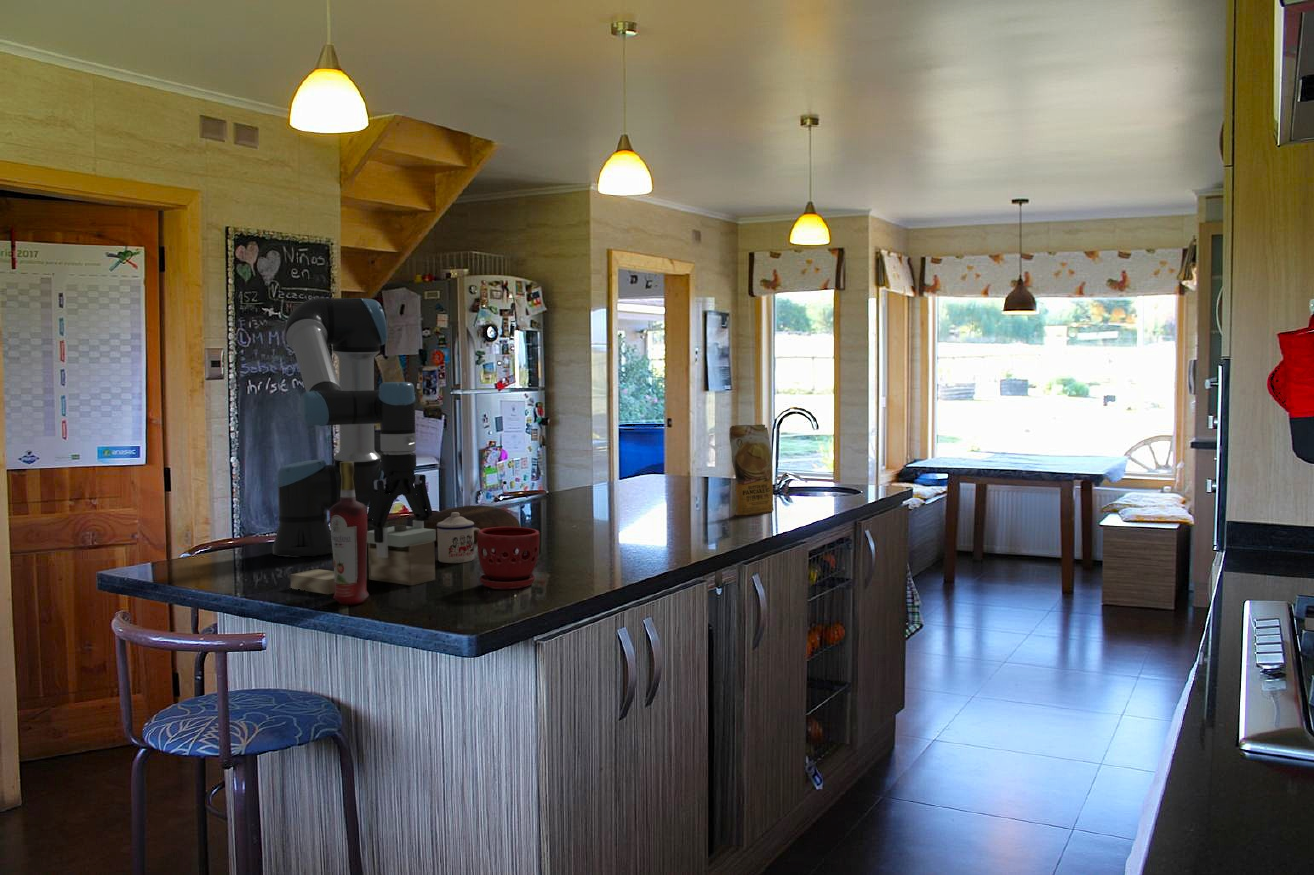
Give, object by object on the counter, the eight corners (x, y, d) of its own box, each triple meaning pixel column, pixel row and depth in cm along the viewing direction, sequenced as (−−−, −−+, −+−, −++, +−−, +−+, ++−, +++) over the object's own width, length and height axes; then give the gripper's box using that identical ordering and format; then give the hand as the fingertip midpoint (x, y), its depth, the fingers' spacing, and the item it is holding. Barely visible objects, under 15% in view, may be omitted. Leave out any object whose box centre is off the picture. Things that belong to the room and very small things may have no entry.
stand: (290, 588, 223) (290, 574, 222) (317, 582, 229) (317, 569, 228) (328, 594, 216) (327, 580, 216) (355, 588, 222) (354, 574, 222)
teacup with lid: (449, 565, 247) (448, 516, 247) (430, 560, 254) (428, 512, 253) (492, 558, 255) (491, 511, 254) (473, 554, 262) (471, 507, 261)
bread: (541, 534, 294) (540, 503, 294) (476, 549, 271) (476, 515, 270) (464, 527, 309) (463, 498, 308) (397, 541, 286) (396, 509, 285)
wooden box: (369, 579, 231) (368, 541, 231) (393, 574, 237) (392, 536, 237) (411, 585, 224) (410, 546, 223) (435, 579, 230) (434, 541, 229)
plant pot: (487, 594, 214) (485, 536, 213) (472, 583, 226) (470, 528, 225) (548, 588, 219) (547, 531, 219) (530, 577, 231) (529, 523, 231)
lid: (365, 542, 229) (364, 527, 229) (399, 535, 238) (399, 521, 237) (402, 547, 223) (401, 531, 223) (435, 540, 231) (435, 525, 231)
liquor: (324, 604, 206) (319, 463, 204) (347, 597, 213) (343, 460, 211) (355, 607, 204) (350, 464, 202) (377, 599, 210) (373, 461, 209)
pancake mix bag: (722, 514, 327) (722, 425, 325) (766, 509, 339) (766, 423, 337) (737, 517, 322) (736, 426, 320) (781, 511, 334) (781, 423, 332)
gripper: (370, 457, 217) (373, 563, 219) (447, 449, 236) (449, 546, 238) (345, 456, 221) (348, 560, 223) (423, 448, 240) (426, 543, 242)
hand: (401, 553), depth 230 cm, fingers closed on lid, 10 cm apart
